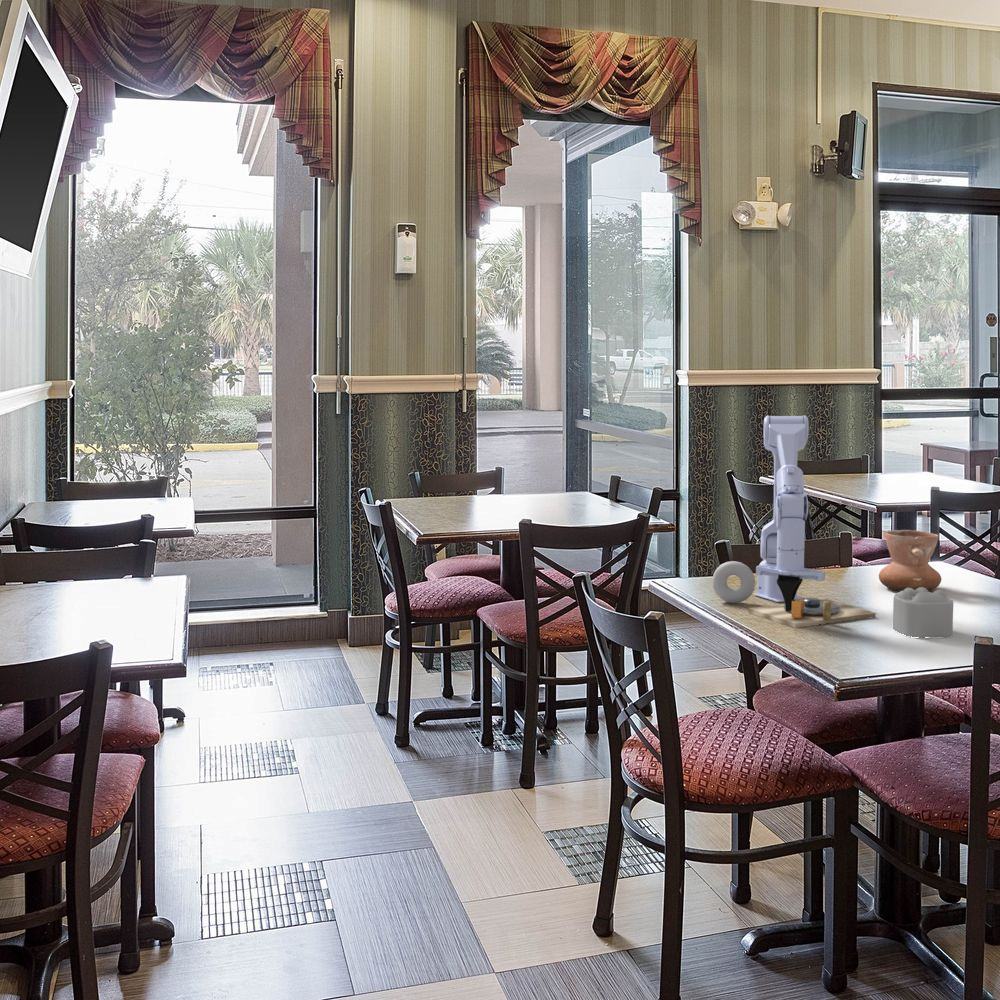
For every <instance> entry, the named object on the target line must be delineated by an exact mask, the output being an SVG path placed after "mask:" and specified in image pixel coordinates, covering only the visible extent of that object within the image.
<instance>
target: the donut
mask: <svg viewBox="0 0 1000 1000" xmlns="http://www.w3.org/2000/svg"><path fill="white" fill-rule="evenodd" d="M731 576H736V577H737V578H739V581H740V584H739V587H736V588H731V587H730V586H729V584H728V578H729V577H731ZM711 582H712V588H713V590H714V593H715V594H716V595H717V596H718V598H719V599H721V600H723V601H725V602H727V603H731V604H737V603H742V602H744V601H746V600H748V599H749V598H750V597H751V596H752V595H753V594H754V591H755V587H756V578H755V574H754V573H753V571H752V570H751V568H750V567H749V566H748V565H747V564H744V563H743V562H740V561H736V560H735V561H734V560H731V561H726V562H724V563H721V564H720V565H719V566H718V567H717V568H716V569H715V571H714V573H713V576H712V580H711Z"/></svg>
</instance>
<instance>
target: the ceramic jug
mask: <svg viewBox="0 0 1000 1000" xmlns="http://www.w3.org/2000/svg"><path fill="white" fill-rule="evenodd" d="M885 540H886V541H885V542H886V545H887V548H888V552H889V556H890V558H891V560H892V562H890V563H889V564H888V565H886V566H885V567H883V568H882V569H880V571H879V573H878V579H879V582H880V583H881V584H882V585H883V586H885V587H886V588H888V589H891V590H894V591H898V592H900V591H903V590H904V589H906V588H912V589H913V590H916V589H917V588H919V587H924V588H926V589H927V590H928V592H930V591H932V590H934V589H936V588H937V587H939V586H940V584H941V583H942V575H941V574H940V573H939V571H937V570H936V569H935V568H933V567H932V566H931V565H930V564H929V563H930V559H931V558H932V556H933V554H934V552H935V549H936V546H937V544H938V540H939V535H938V534H936V533H932V532H926V531H921V530H911V529H900V530H899V529H892V530H888V531H885Z"/></svg>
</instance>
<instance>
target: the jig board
mask: <svg viewBox="0 0 1000 1000" xmlns="http://www.w3.org/2000/svg"><path fill="white" fill-rule="evenodd" d="M820 601H824V602H823V615H806V616H804V617H802V618H794V617H791V612H788V611H786V610H784V603H783V604H774V605H766V606H758V607H749V608H748V614H752V615H755V616H757V617H760V618H762V619H763V618H764V619H765V620H766V619H767V620H769V621H773V622H776V623H779V624H782V625H784V624H785V626H788V627H790V628H793V629H796V628H797V629H798V628H806V627H812V626H811V625H814V626H820V625H819V624H821V625H827V624H826V623H829V624H836V623H843V622H842V621H844V622H848V621H847V620H852V621H856V620H855V619H859V620H864V619H863V618H867V619H871V618H870V617H875V618H876V616H877V615H876V613H877V612H874V611H870V610H866V609H863V608H860V607H856V606H852V605H849V604H845V603H842V602H838V601H834V600H831V599H828V598H827V599H826V598H825V599H820ZM831 603H834V604H837V605H838V606H840V611H839V612H838V613H836V614H832V615H831ZM835 622H836V623H835ZM805 626H806V627H805Z"/></svg>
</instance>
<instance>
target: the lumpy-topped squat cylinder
mask: <svg viewBox="0 0 1000 1000" xmlns="http://www.w3.org/2000/svg"><path fill="white" fill-rule="evenodd" d="M892 603H893V606H892V607H893V608H892V609H893V610H892V630H893V629H894V630H895V632H896V631H897V632H896V633H898V632H899V633H898V634H900V633H901V634H900V635H902V634H904V635H906V636H905V637H907V636H910V637H909V638H911V636H912V637H919V638H925V637H944V638H943V639H947V638H946V637H949V638H952V637H953V626H954V601H953V600H952V599H950V598H949V597H947V595H946V593H945V591H944V590H941V589H937V590H935V591H933V592H931V591H928V590H927V589H926V588H924V587H919V588H917V589H916V590H913V589H912V588H906V589H904V590H903V591H898V592H896V593H895V594H894V595H893V602H892ZM894 630H893V631H894ZM904 635H903V636H904ZM951 636H952V637H951ZM919 638H918V639H919ZM925 639H926V638H925Z"/></svg>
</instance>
